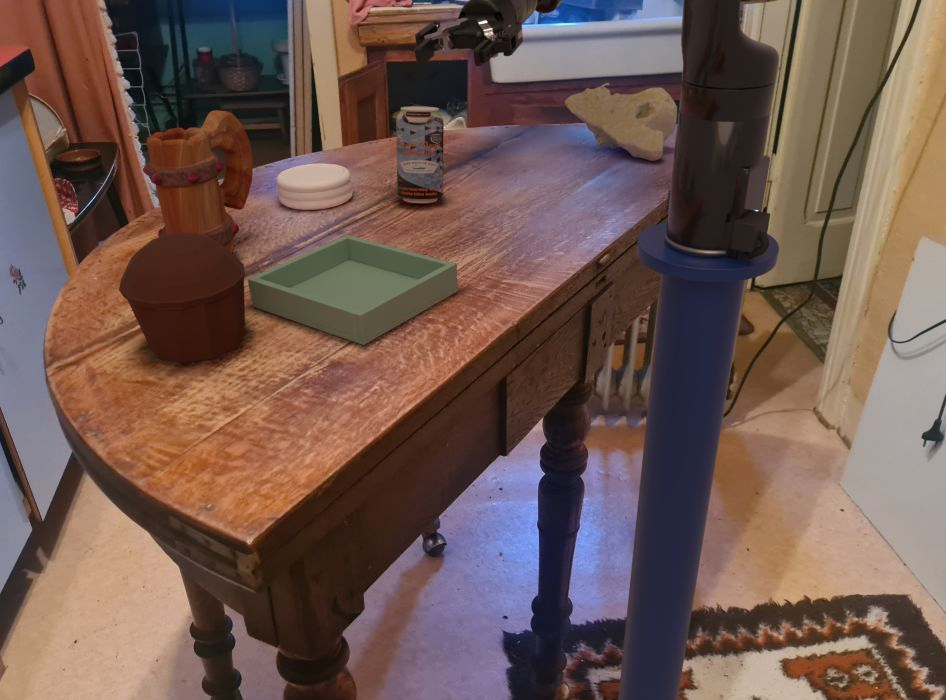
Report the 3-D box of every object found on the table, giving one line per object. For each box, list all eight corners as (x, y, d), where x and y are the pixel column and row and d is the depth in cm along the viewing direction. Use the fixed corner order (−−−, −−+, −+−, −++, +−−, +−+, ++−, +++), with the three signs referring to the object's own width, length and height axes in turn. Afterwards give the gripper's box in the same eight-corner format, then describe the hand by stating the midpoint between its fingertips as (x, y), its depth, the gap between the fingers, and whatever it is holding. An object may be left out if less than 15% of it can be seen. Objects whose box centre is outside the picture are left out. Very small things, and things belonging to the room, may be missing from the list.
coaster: (269, 195, 118) (265, 170, 116) (337, 183, 122) (333, 158, 120) (294, 216, 111) (290, 189, 109) (364, 202, 115) (362, 175, 113)
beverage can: (393, 209, 112) (385, 113, 105) (406, 191, 118) (399, 99, 111) (439, 210, 111) (434, 114, 104) (451, 192, 117) (447, 100, 110)
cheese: (692, 167, 129) (662, 86, 133) (692, 141, 122) (661, 55, 126) (594, 202, 132) (568, 120, 136) (589, 177, 125) (562, 93, 129)
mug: (201, 280, 94) (170, 140, 86) (148, 268, 98) (113, 132, 89) (286, 236, 105) (265, 108, 96) (236, 226, 108) (212, 102, 100)
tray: (458, 291, 90) (456, 263, 88) (363, 345, 80) (360, 315, 79) (350, 260, 98) (346, 234, 96) (252, 306, 88) (247, 278, 86)
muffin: (260, 360, 78) (240, 256, 73) (134, 378, 76) (103, 273, 71) (253, 307, 88) (235, 212, 82) (141, 322, 86) (114, 226, 80)
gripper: (446, -12, 123) (395, 27, 113) (538, -13, 118) (493, 28, 108) (453, 42, 129) (405, 84, 118) (541, 44, 123) (499, 88, 113)
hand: (447, 58), depth 113 cm, fingers open, 8 cm apart
